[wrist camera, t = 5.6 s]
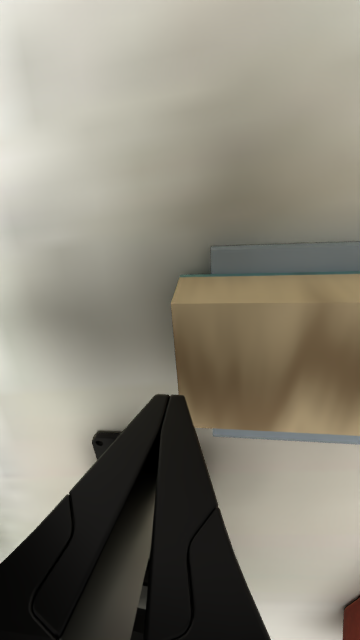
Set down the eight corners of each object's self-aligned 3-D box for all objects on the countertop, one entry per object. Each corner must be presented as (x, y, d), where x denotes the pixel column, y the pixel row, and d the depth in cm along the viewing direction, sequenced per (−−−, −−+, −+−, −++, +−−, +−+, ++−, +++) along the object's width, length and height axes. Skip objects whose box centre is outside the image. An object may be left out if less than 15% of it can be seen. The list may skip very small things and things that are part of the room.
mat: (443, 439, 15) (451, 449, 15) (212, 428, 17) (212, 436, 17) (560, 234, 10) (578, 238, 10) (210, 246, 12) (210, 250, 11)
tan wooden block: (187, 383, 15) (372, 389, 14) (181, 426, 12) (406, 438, 11) (180, 274, 12) (414, 270, 11) (170, 303, 10) (471, 301, 8)
